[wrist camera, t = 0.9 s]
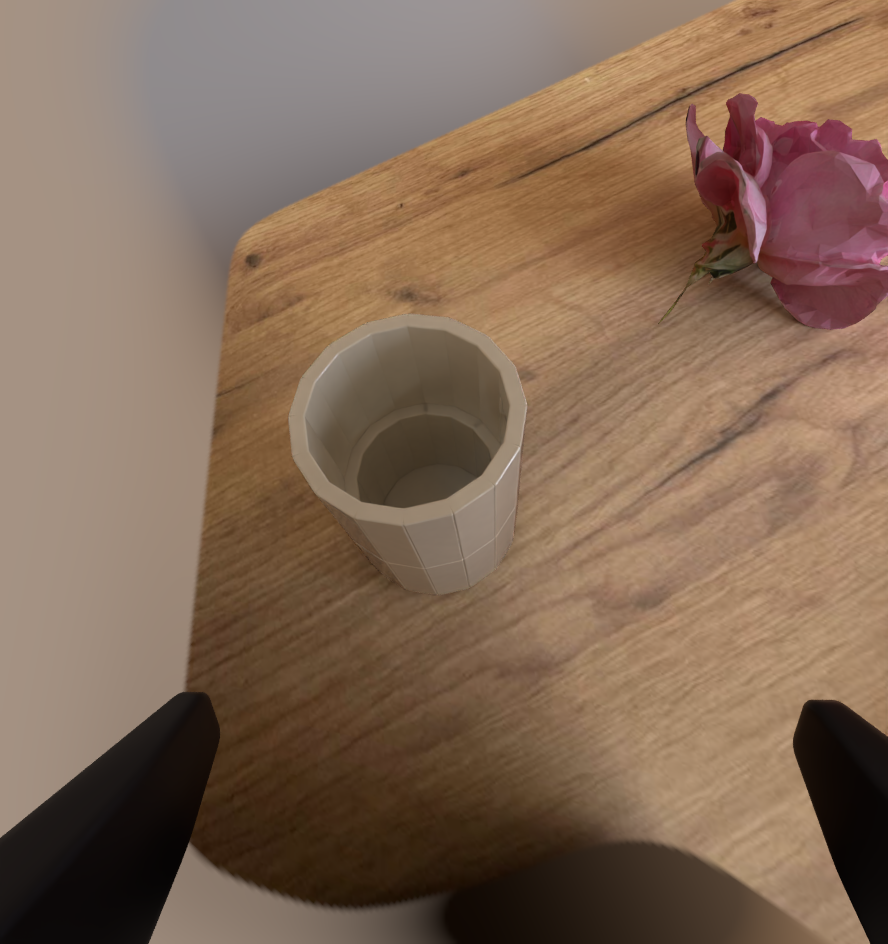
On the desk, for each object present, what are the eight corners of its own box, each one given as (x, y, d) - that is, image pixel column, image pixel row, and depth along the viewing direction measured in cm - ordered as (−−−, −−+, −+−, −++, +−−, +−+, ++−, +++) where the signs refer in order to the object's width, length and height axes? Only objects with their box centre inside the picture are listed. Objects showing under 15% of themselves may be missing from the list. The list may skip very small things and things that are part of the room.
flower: (738, 234, 34) (942, 109, 26) (745, 380, 31) (979, 293, 23) (599, 137, 29) (795, -56, 21) (591, 300, 26) (817, 151, 18)
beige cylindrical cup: (462, 628, 23) (438, 572, 14) (334, 544, 25) (241, 447, 16) (543, 497, 25) (569, 373, 16) (419, 428, 27) (379, 283, 18)
